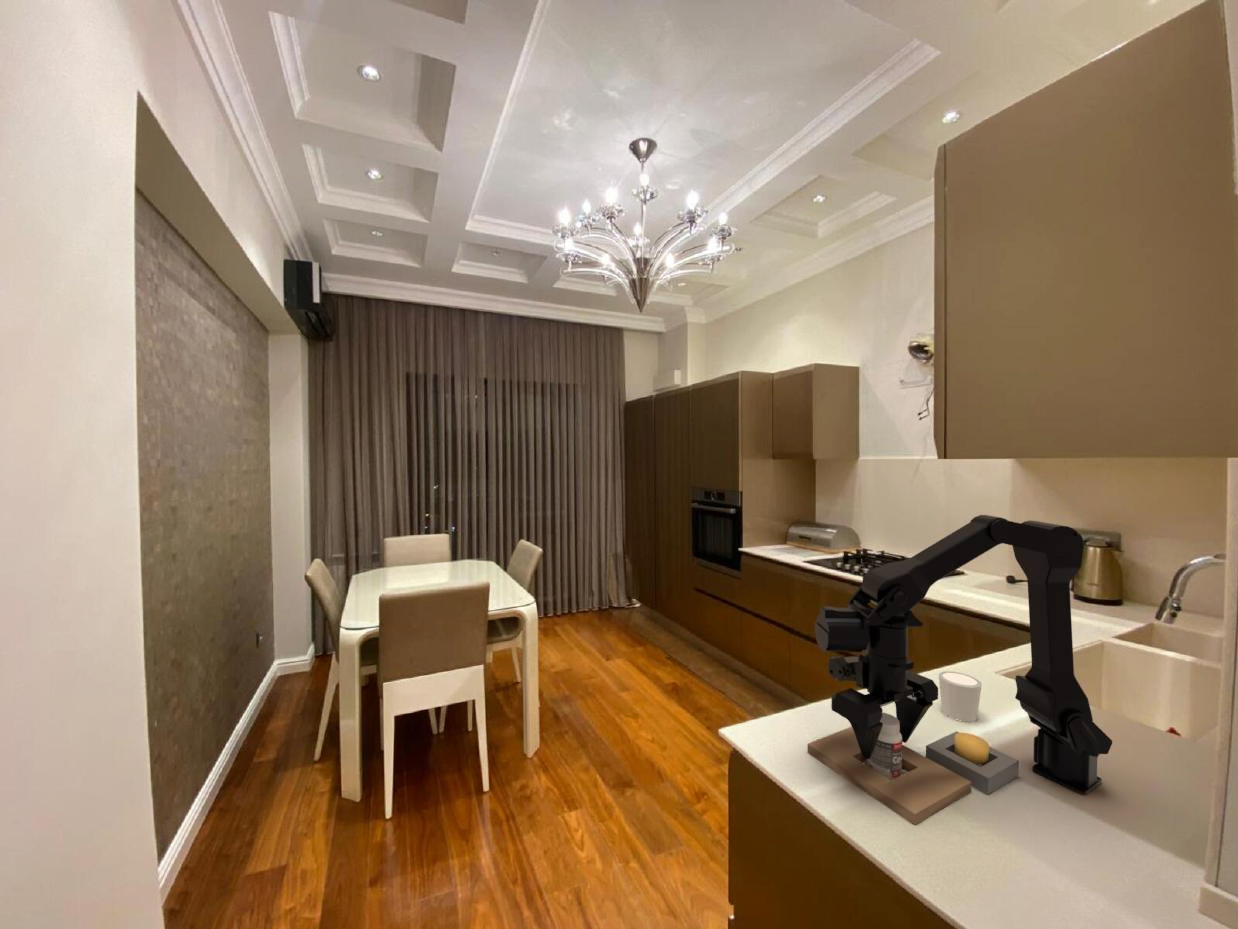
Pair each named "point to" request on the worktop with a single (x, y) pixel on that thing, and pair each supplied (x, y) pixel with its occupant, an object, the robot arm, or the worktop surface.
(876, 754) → the pill bottle
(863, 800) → the worktop surface
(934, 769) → the brown wooden rectangular frame
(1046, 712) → the robot arm
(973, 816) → the worktop surface
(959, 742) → the button
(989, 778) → the button collar
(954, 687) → the white cup
